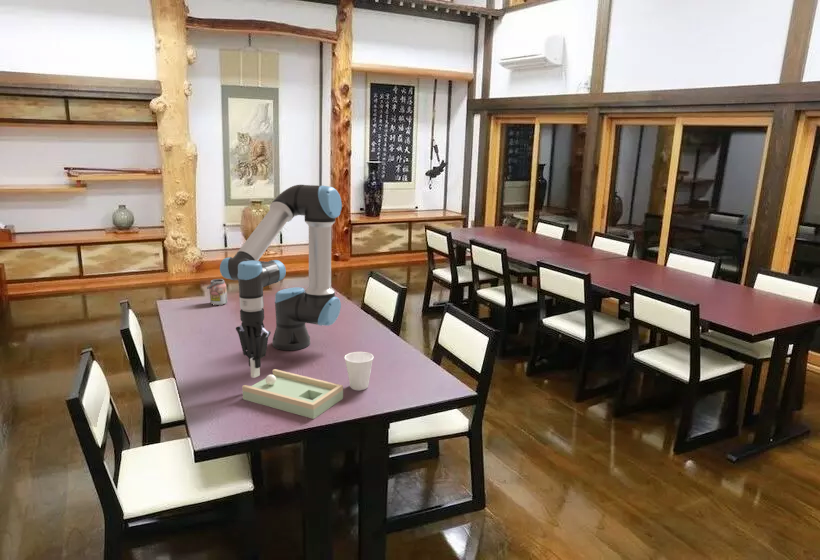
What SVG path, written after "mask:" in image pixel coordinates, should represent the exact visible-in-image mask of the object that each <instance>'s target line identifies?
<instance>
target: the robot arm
mask: <svg viewBox="0 0 820 560" xmlns="http://www.w3.org/2000/svg"><path fill="white" fill-rule="evenodd" d="M342 205H343V204H342V198H341V195H340V193H339V192H338V190H337V189H336V188H334V187H333V186H327V185H313V184H296V185H293V186H290V187H288V188H285V190H283V191H282V192H280V193H279V194H278V195H277V196H276V197H275V198H274V200H272V202H271V203H270V204H269V210H268V211H267V213H266V214H265V215H264V217H263V218H262V220H261V221H260V222H259V223H258V224H257V226H256V228H254V230H253V232H251V234H250V235H249V236H248V237H247V239H246V241H244V243H243V244H242V246H241V247H240V248H239V250H238V251H237V252H236V254H234V256H229V257H225V258H223V259H222V261H220V265H219V272H220V274H221V276H222V277H223V278H224V279H227V280H232V281H238V293H239V294H238V297H239V308H240V310H239V317H240V319H239V320H240V321H241V325H239V326H236V327H235V331H236V332H237V335H238V338H239V341H240V347H241V350H242V354H243V355H244V356H247V358H248V366H249V368H250V378H253V379H255V378H257V377H259V376H260V375H261V370H260V369H261V364H262V361H261V359H262V358H264V357H266V355H267V354H266V353H267V349H268V343H269V337H270V335H271V331H270V330H267V329H266V328H265V324H264V320H265V308H264V306H265V305H264V303H265V302H264V288H265V287H267V286H270V285H274V284H277V283H279V282H281V281H282V280H283V279H285V278H286V272H287V271H286V269H287V268H286V266H285V264H284V263H283V262H282V261H280V260H278V259H273V260H268V261H264V260H260V259H261V258H262V256H263V255H264V254H265V252H266V251H267V250H268V248H269V247H270V245H271V244H272V242H273V241H274V240H275V239H276V237H277V236H278V234H279V233H280V231H281V230H282V229H283V228H284V226H285V225H286V224H287V223H288V222H291V221H292V219H293V218H294V217H297V216H304V222H305V223H306V224H307V225H308V287H307V288H306V289H305V288H303V287H299V286H298V287H295V286H294V287H287V288H284V289H281V290H278V291H277V292H276V293H275V294H274V295H275V296H274V304H275V305H274V306H275V307H274V309H275V326H276V327H275V330H274V333H273V337H272V348H275V349H277V350H281V351H297V350H301V349H305V348H307V347H309V346H310V345H311V336H310V335H309V332H308V331H309V330H308V329H307V326H306V324H311V325H318V326H321V327H322V326H327V327H329V326H332V325H333V324H335V323H336V321H337V320H338V317H339V316H340V313H341V307H342V303H341V300H340V298H339V297H338V296H336V291H335V289H334V288H333V287H332V226H333V225H334V224H335V223H336V218H338V217H340V215H341V211H342V208H343V207H342Z"/></svg>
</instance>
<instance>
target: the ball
mask: <svg viewBox="0 0 820 560" xmlns="http://www.w3.org/2000/svg"><path fill="white" fill-rule="evenodd" d="M265 378H266V379H265ZM265 378H264V379H265V381H266V383H267V384H268V385H273V384H275V382H276V377H275V376H274V375H273V373H272V374H268V375H266V377H265Z"/></svg>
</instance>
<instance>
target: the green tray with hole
mask: <svg viewBox="0 0 820 560" xmlns="http://www.w3.org/2000/svg"><path fill="white" fill-rule="evenodd" d="M272 375H274V376H275V377H276V382H275V384H273V385H268V384H267V383H266V381H265V379H266V377H265V378H264V379H261V380H260V381H258V382H256V383H254V384H252V385H247V384H244V385H242V399H243V400H244V401H248V402H250V403H255V404H258V405H262V406H265V407H269V408H273V409H277V410H280V411H284V412H287V413H291V414H295V415H299V416H301V417H306V418H309V419H316V418H318V417H319V416H320V415H322V414H323V413H324V412H326V411H327V410H329V409H330V408H332V407H333V406H335V405H336V404H337V403H339V402H341V401H342V400H343V399H344V385H343V384H338V383H334V382H330V381H327V380H322V379H318V378H314V377H310V376H306V375H301V374H297V373H293V372H289V371H285V370H280V369H276V368H274V369H272Z"/></svg>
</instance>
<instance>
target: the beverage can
mask: <svg viewBox="0 0 820 560" xmlns="http://www.w3.org/2000/svg"><path fill="white" fill-rule="evenodd" d="M206 290H208V291H209V301H210V304H211V305H212V304H214V305H221V306H224V305H223V304H225V305H226V304H228V291H227V284H226V282H225V280H224V279H223V278H217V279H212V280H210V284H209V285H208V286H207V287H206ZM214 305H213V306H214Z"/></svg>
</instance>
